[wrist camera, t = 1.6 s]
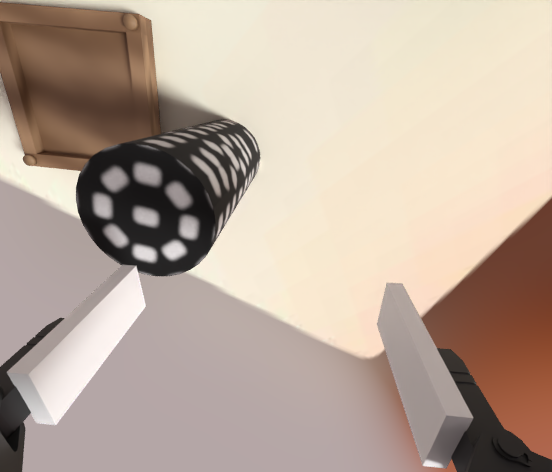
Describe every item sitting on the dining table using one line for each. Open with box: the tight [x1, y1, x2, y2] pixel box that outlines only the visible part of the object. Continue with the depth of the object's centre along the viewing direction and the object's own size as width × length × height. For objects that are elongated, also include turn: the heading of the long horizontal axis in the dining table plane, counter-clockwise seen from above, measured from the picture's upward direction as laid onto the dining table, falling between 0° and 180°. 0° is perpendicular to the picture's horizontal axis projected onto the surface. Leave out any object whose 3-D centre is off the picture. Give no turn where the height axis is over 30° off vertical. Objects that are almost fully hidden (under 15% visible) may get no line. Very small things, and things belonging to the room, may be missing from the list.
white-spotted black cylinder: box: [76, 120, 260, 276], centre depth 26 cm, size 8×8×20 cm
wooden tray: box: [0, 2, 161, 171], centre depth 32 cm, size 16×16×3 cm
